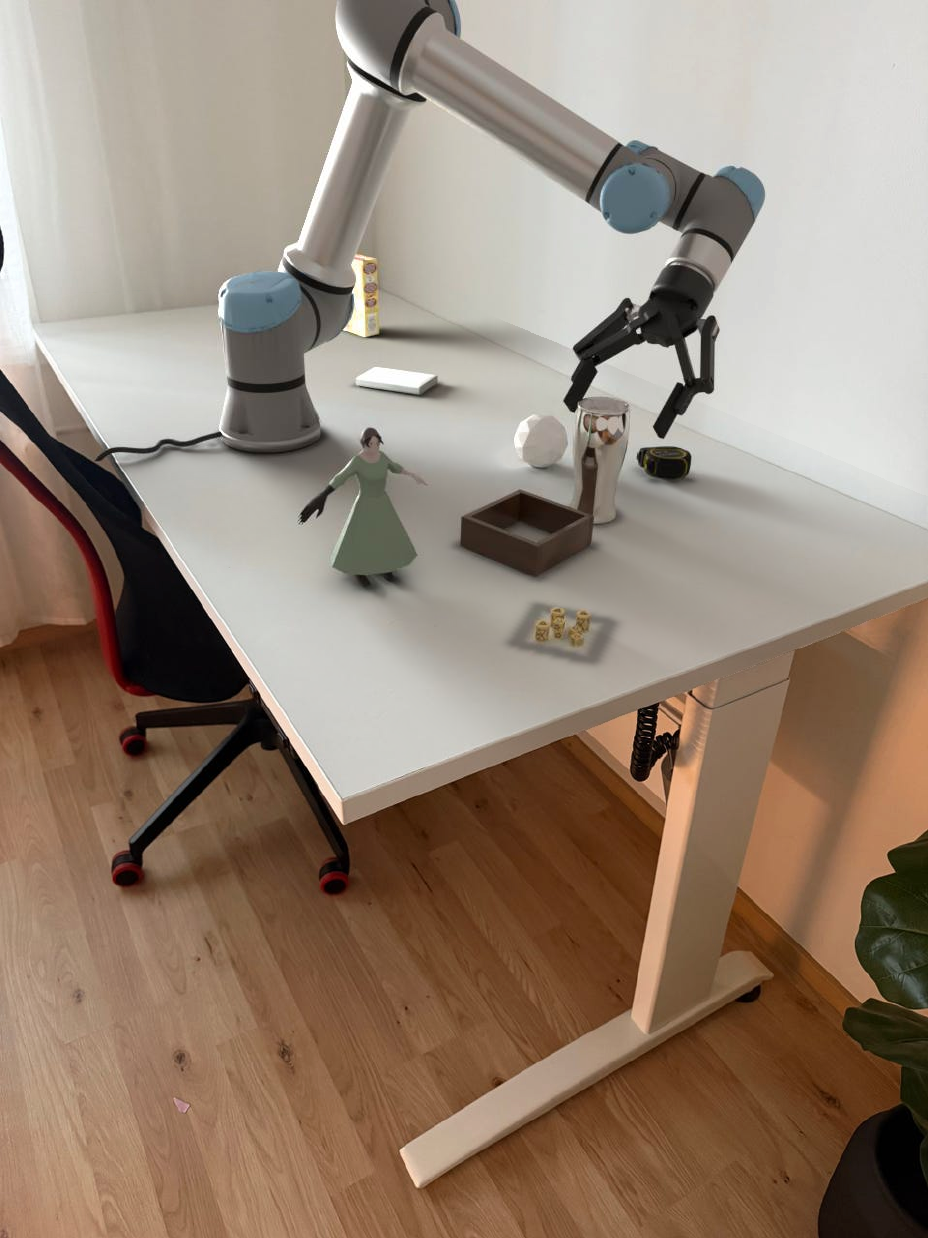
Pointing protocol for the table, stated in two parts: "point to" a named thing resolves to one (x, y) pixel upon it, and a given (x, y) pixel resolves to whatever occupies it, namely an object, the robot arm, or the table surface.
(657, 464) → the tape measure
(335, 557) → the character figurine
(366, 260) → the candy box
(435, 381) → the hard drive
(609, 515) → the beer glass
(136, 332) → the table surface
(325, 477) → the table surface
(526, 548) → the tray
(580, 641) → the dice set
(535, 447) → the geometric ball
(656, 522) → the table surface
